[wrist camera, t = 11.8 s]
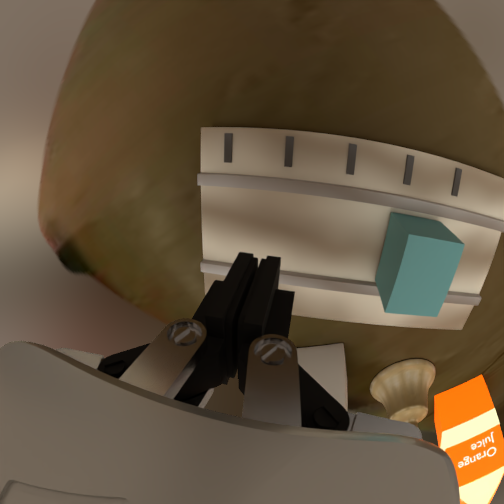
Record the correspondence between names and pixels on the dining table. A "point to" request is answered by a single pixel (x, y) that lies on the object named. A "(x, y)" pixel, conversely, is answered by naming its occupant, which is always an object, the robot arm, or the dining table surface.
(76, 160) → the dining table surface
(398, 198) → the count board
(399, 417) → the hand bell
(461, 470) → the orange juice
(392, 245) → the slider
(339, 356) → the milk
